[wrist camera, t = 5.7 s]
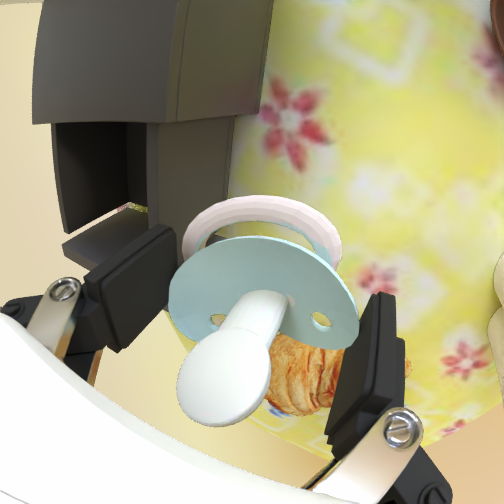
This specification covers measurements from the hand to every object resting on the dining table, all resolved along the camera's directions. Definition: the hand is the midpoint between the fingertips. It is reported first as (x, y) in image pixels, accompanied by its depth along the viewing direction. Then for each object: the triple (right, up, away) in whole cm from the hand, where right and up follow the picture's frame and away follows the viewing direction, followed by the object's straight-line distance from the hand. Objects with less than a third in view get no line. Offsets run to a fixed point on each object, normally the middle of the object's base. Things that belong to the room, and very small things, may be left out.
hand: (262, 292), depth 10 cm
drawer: (-7, +7, +14) cm, 17 cm away
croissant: (+6, -10, +19) cm, 22 cm away
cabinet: (-5, +20, +7) cm, 22 cm away
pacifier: (0, +1, +1) cm, 2 cm away
